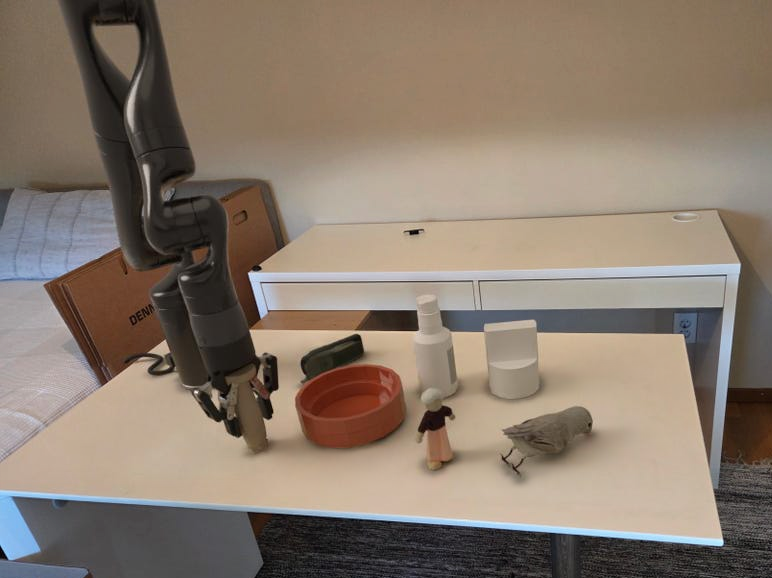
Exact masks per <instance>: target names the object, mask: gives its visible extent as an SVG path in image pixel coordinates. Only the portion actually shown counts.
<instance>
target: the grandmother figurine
mask: <svg viewBox="0 0 772 578" xmlns="http://www.w3.org/2000/svg"><path fill="white" fill-rule="evenodd" d="M443 397H444V395H443V393H442V391H440V390H439V389H436V388H429V389H427V390H426V391H425V392H423V393H422V392H421V396H420V402H421V404H422V405H423V407H425V409H426V411H425V412H424V414H423V416H422V418H421V421H420V423H419V425H418V427H417V432H416V437H415V440H414V441H415V443H417V444H421V443H422V442H423V438H424V437H425V433H426V444H425V447H426V458H427V460H426V465H427V467H428V468H429V469H430V470H432V471H437V470H439V469H441V468H442V466H443V463H442V462H445V463H446V462H450V461H451V460H453V459H454V455H453V451H452V446H451V443H450V439H449V435H448V431H447V423H446V418H448V420H449V421H455V420H456V418H457V417H456V414H455V413H454V412H453V409H452V408H451V407H449V406H448V405H444V404H443V399H444V398H443Z"/></svg>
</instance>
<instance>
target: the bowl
mask: <svg viewBox="0 0 772 578" xmlns="http://www.w3.org/2000/svg"><path fill="white" fill-rule="evenodd" d="M294 404H295V410H296V413H297V417H298V421H299V425H300V428H301V432H302V433H303V435H304V437H306V439H307V440H308V441H309V442H311V443H313V444H315V445H316V446H317V445H318V446H319V447H320V446H321V447H326V448H333V449H340V448H341V449H343V448H353V447H358V446H362V445H366V444H370V443H372V442H374V441H376V440H379V439H381V438H384V437H386V436H387V435H389V434H390V433H392V432H393V431H394V430H396V429H397V428H398V427H399V425H400V424H401V423H402V422H403V420H404V419H405V416H406V412H407V405H406V397H405V393H404V387H403V383H402V379H401V376H400V375H399V374H398V373H397V372H396V371H394V369H392V368H389V367H387V366H383V365H378V364H370V363H365V364H364V363H362V364H361V363H360V364H350V365H344V366H341V367H338V368H336V369H333V370H330V371H327V372H325V373H322V374H320V375H319V376H317V377H315V378H313V379H311V380H309V381H307V382H305V383H304V385H303V386H302V387H300V389H299V390H298V392H297V394H296V395H295V398H294Z"/></svg>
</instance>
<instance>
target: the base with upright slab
mask: <svg viewBox="0 0 772 578" xmlns="http://www.w3.org/2000/svg"><path fill="white" fill-rule="evenodd" d="M537 326H538V325H537V321H536V319H526V320H525V319H524V320H515V321H503V322H502V321H501V322H492V323H491V322H490V323H484V326H483V335H484V345H485V355H486V364H487V365H486V366H487V375H488V387H489V391H490V392H491V393H492V395H494V396H496V397H498V398H501V399H505V400H506V399H507V400H518V399H524V398H528V397H530V396H532V395H534V394H535V393H536V392H537V391H538V390H539V388H540V367H539V366H540V365H539V364H540V363H539V347H538V328H537Z"/></svg>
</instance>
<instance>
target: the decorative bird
mask: <svg viewBox="0 0 772 578" xmlns="http://www.w3.org/2000/svg"><path fill="white" fill-rule="evenodd" d="M591 414H592V413H590V411H589V410H588V409H587V408H585V407H583V406H580V405H579V406H577V405H574V406H570V407H568V408H566V409H564V410H562V411H558V412H553V413H546V414H542V415H539V416H536V417H533V418H529V419H526V420H524V421H523V422H521V423H519V424H513V425H512V426H509V427H506V428H501V431H502V432H503V433H502V435H503V436H506V439H508V440H510V441H511V442H512V444H513V446H511V449H510V451H509V452H508V454H507V455H505V456H504V455H503V454H502V453H499V455H500V456H501V458H500V459H501V461H503V462H504V463H505V464H506V465H507V466H508V467H509V468H510V467H511V466H512V467H511V470H512V471H514V472H515V473H516V475H517V476H519V477H520V478H522V475H521V473H520V471H519V470H518V467H520V466H522V464H523V462H524V461H525V460H526V459H527V458H536V457H541V456H545V455H548V454H551V453H552V454H557V453H561V452H562V451H563V450H564V449H565V448H566V447H567V446H568V445H569V444H570V442H572V441H573V440H574V439H575V438H576V436H577V435H580V434H585V435H589V434H591V432H592V430H593V425H594V421H593V417H592V415H591ZM516 449H517V451H518V452H519V453H520V454H522V455H523V456H522V458H521V460H520V462H519V463H518V464H516V465H514V463H511V462H509V461H508V460H507V459H508V458H509V457H510V456H511V455H512V454H513V452H514V450H516ZM510 465H511V466H510Z"/></svg>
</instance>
